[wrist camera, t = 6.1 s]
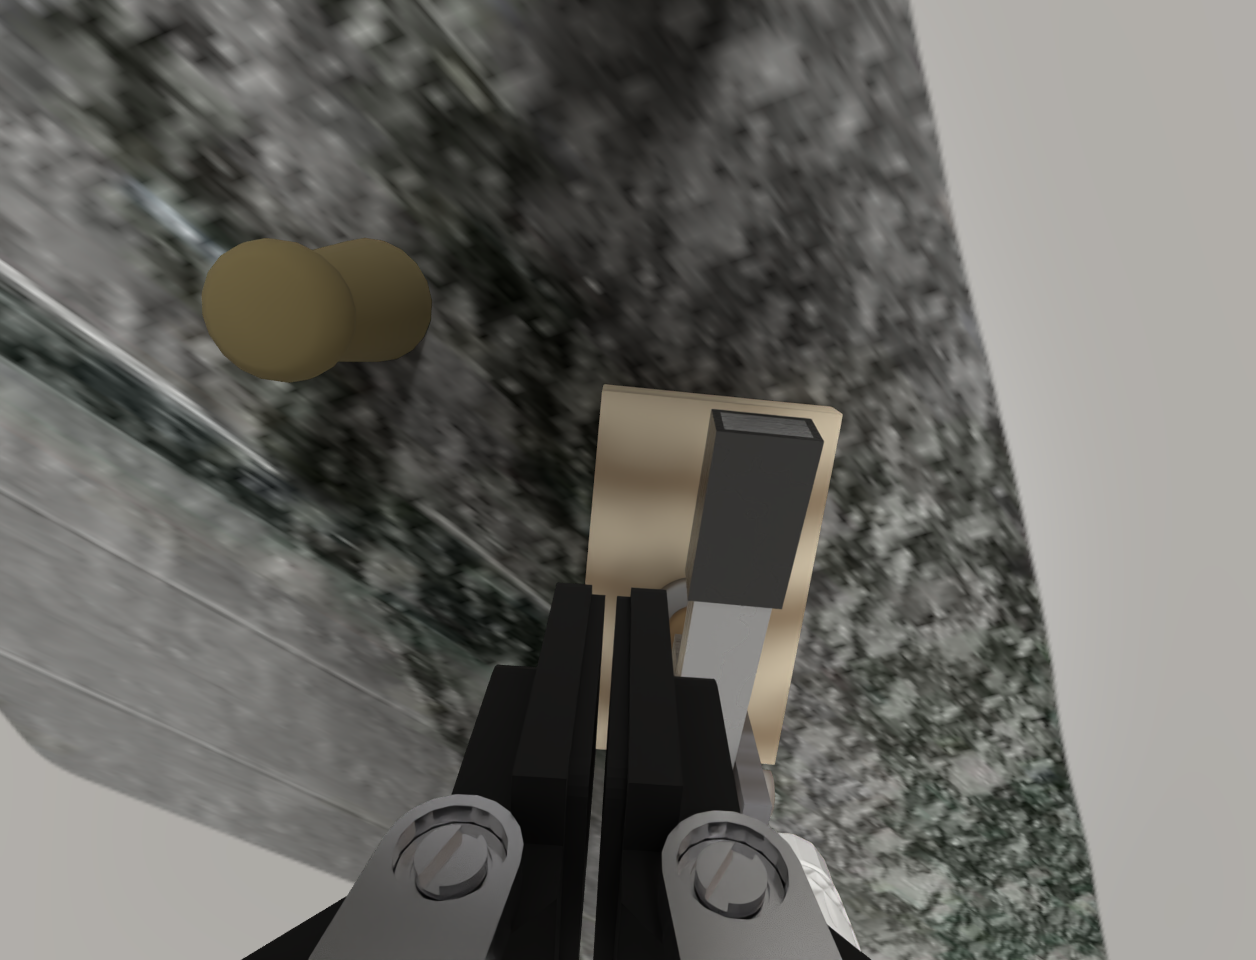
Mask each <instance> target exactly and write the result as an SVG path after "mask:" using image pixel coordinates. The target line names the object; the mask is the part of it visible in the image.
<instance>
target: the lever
mask: <svg viewBox="0 0 1256 960" xmlns="http://www.w3.org/2000/svg"><path fill="white" fill-rule="evenodd" d="M823 445H824V440H823V439H822V437H821V435H820V433H819V431H818V430H817V428H816V426H815V424H814V422H813V421H812V419H809V418H799V417H789V416H779V415H769V414H759V413H749V412H739V411H729V410H719V409H711V414H710V420H709V426H708V432H707V439H706V445H705V451H704V457H703V463H702V469H701V475H700V481H699V487H698V494H697V500H696V506H695V512H694V518H693V524H692V530H691V536H690V543H689V549H688V555H687V561H686V567H685V576H686V588H687V599H688V605H687V611H686V617H685V623H684V629H683V634H675V636H674V642H673V648H672V660H673V672H674V676H680V677H695V678H710V679H715V680H716V682H717V686H718V691H719V696H720V702H721V707H722V713H723V718H724V724H725V729H726V735H727V741H728V746H729V752H730V757H731V763H732V768H733V767H734V763H735V759H736V755H737V750H738V746H739V742H740V738H741V734H742V730H743V726H744V722H745V718H746V714H747V709H748V705H749V701H750V697H751V693H752V689H753V685H754V681H755V677H756V673H757V668H758V664H759V660H760V656H761V652H762V648H763V644H764V640H765V636H766V631H767V627H768V623H769V619H770V615H771V611H772V609H782V607H783V603H784V599H785V596H786V592H787V588H788V584H789V580H790V576H791V572H792V568H793V564H794V560H795V556H796V552H797V548H798V544H799V540H800V536H801V532H802V528H803V524H804V520H805V516H806V512H807V508H808V504H809V500H810V496H811V493H812V489H813V485H814V481H815V477H816V473H817V469H818V465H819V461H820V457H821V453H822V449H823Z"/></svg>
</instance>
